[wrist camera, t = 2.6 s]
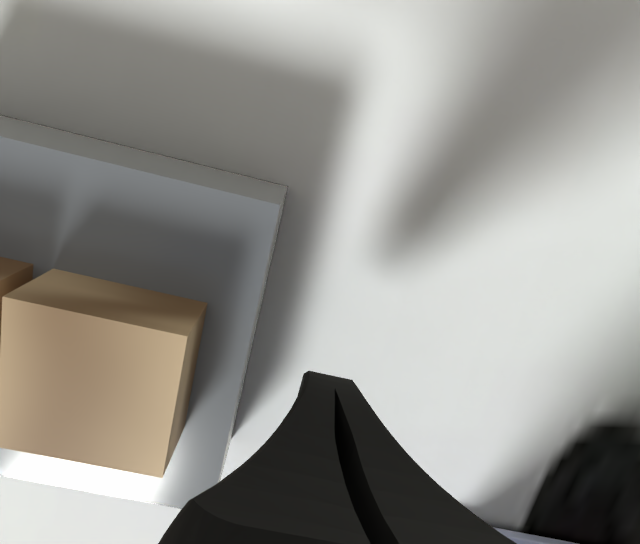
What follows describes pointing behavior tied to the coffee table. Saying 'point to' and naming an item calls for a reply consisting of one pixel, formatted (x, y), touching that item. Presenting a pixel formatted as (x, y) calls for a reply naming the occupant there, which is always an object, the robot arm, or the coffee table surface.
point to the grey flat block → (145, 274)
